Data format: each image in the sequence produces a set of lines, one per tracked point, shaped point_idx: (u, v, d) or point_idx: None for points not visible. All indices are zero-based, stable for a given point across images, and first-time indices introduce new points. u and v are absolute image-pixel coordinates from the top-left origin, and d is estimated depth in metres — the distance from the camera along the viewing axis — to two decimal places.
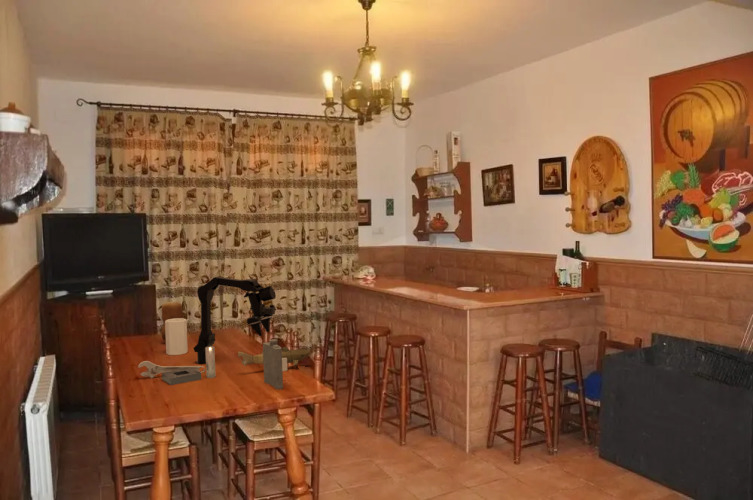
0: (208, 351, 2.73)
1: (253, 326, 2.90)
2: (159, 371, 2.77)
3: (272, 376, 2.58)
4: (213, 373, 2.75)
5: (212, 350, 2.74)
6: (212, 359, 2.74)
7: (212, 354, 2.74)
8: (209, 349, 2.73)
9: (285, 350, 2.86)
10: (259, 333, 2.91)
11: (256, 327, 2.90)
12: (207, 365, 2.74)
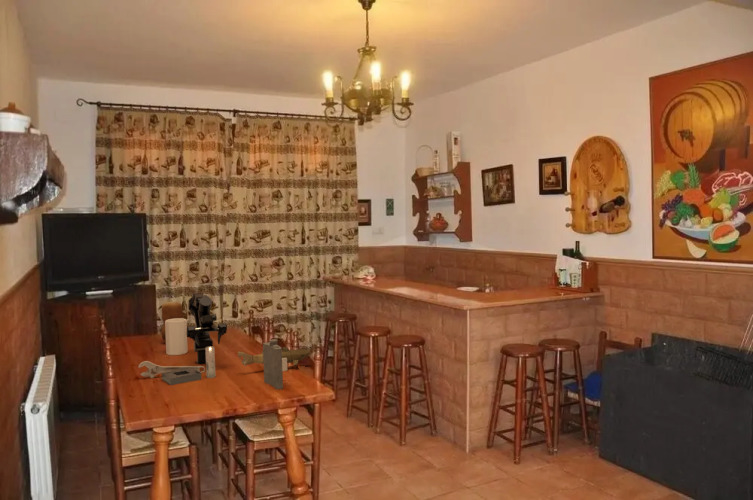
0: (208, 351, 2.73)
1: (193, 338, 2.84)
2: (159, 371, 2.77)
3: (272, 376, 2.58)
4: (213, 373, 2.75)
5: (212, 350, 2.74)
6: (212, 359, 2.74)
7: (212, 354, 2.74)
8: (209, 349, 2.73)
9: (285, 350, 2.86)
10: (197, 343, 2.81)
11: (195, 338, 2.83)
12: (207, 365, 2.74)
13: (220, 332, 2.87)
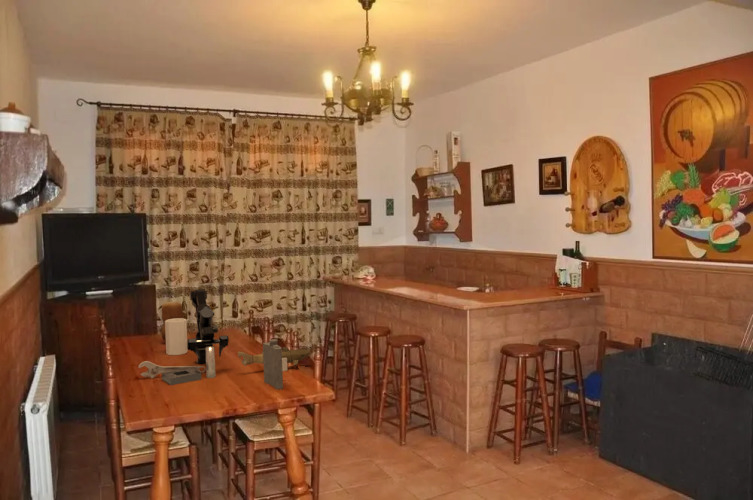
0: (208, 351, 2.73)
1: (194, 350, 2.78)
2: (159, 371, 2.77)
3: (272, 376, 2.58)
4: (213, 373, 2.75)
5: (212, 350, 2.74)
6: (212, 359, 2.74)
7: (212, 354, 2.74)
8: (209, 349, 2.73)
9: (285, 350, 2.86)
10: (198, 356, 2.75)
11: (196, 351, 2.77)
12: (207, 365, 2.74)
13: (221, 344, 2.81)
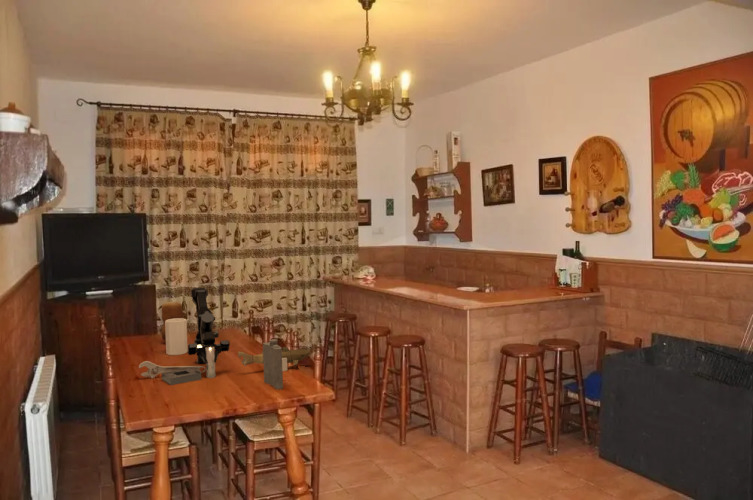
0: (208, 351, 2.73)
1: (200, 355, 2.77)
2: (160, 371, 2.77)
3: (272, 376, 2.58)
4: (213, 373, 2.75)
5: (212, 350, 2.74)
6: (212, 359, 2.74)
7: (212, 354, 2.74)
8: (209, 349, 2.73)
9: (285, 350, 2.86)
10: (204, 360, 2.74)
11: (202, 355, 2.76)
12: (207, 365, 2.74)
13: (217, 350, 2.78)
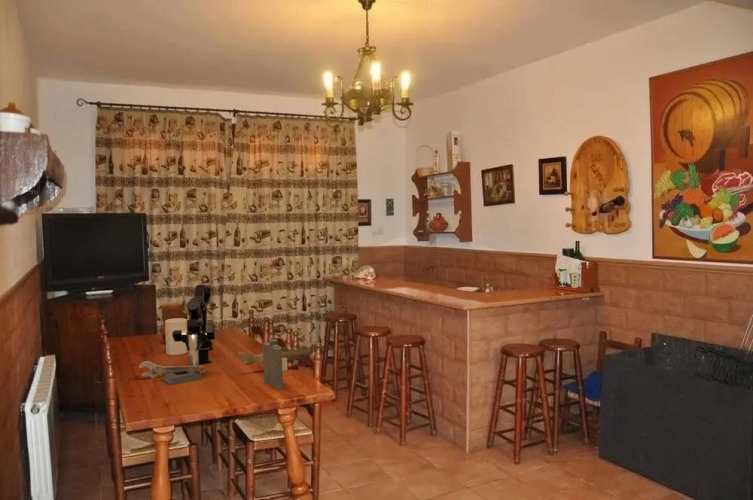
0: (190, 338, 2.70)
1: (185, 342, 2.75)
2: (160, 371, 2.77)
3: (272, 376, 2.58)
4: (195, 361, 2.71)
5: (194, 338, 2.71)
6: (194, 347, 2.71)
7: (194, 342, 2.71)
8: (191, 336, 2.70)
9: (285, 350, 2.86)
10: None
11: (186, 342, 2.74)
12: (189, 353, 2.71)
13: (201, 338, 2.74)
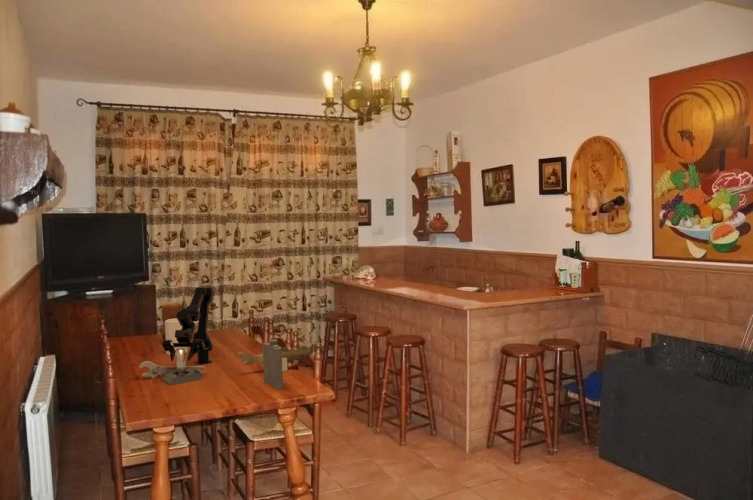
0: (177, 353, 2.70)
1: None
2: (160, 371, 2.77)
3: (272, 376, 2.58)
4: None
5: (181, 353, 2.70)
6: (181, 362, 2.70)
7: (181, 357, 2.70)
8: (178, 351, 2.70)
9: (285, 350, 2.86)
10: None
11: None
12: None
13: (192, 348, 2.73)
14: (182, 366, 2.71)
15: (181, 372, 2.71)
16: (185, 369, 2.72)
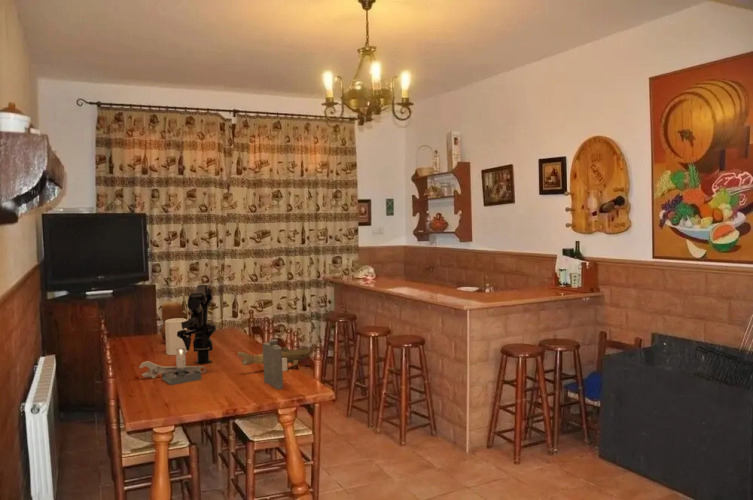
0: (177, 353, 2.70)
1: None
2: (161, 371, 2.77)
3: (272, 376, 2.58)
4: None
5: (181, 353, 2.70)
6: (181, 362, 2.70)
7: (181, 357, 2.70)
8: (178, 351, 2.70)
9: (285, 350, 2.86)
10: None
11: None
12: None
13: (203, 334, 2.79)
14: (182, 366, 2.71)
15: (181, 372, 2.71)
16: (185, 369, 2.72)
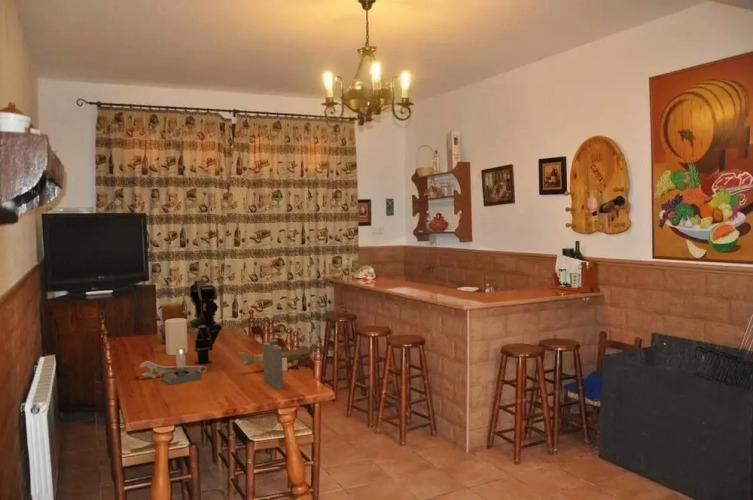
0: (177, 353, 2.70)
1: None
2: (161, 371, 2.77)
3: (272, 376, 2.58)
4: None
5: (181, 353, 2.70)
6: (181, 362, 2.70)
7: (181, 357, 2.70)
8: (178, 351, 2.70)
9: (285, 350, 2.86)
10: None
11: None
12: None
13: (209, 334, 2.83)
14: (182, 366, 2.71)
15: (181, 372, 2.71)
16: (185, 369, 2.72)
